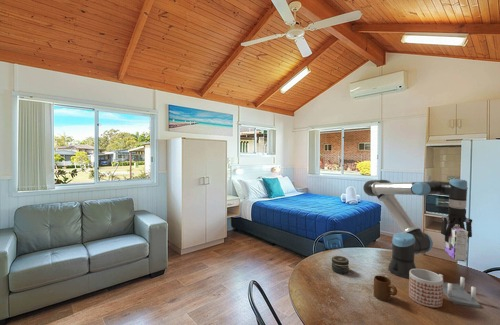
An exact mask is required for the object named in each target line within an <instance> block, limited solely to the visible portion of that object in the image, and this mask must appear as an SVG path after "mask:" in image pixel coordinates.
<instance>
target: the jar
mask: <svg viewBox="0 0 500 325" xmlns="http://www.w3.org/2000/svg"><path fill="white" fill-rule="evenodd" d="M349 260H350V259H348V258H347V257H345V256H341V255H334V256H332V257H331V270H332V271H333V272H334V273H336V274H338V275H346V274H348V272H349V269H350V268H349V265H350V264H349V263H350V261H349Z"/></svg>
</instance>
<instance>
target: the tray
mask: <svg viewBox="0 0 500 325" xmlns="http://www.w3.org/2000/svg"><path fill="white" fill-rule="evenodd" d="M438 275H440V276H441V277H442V278H443V279H444V275H443V274H441V273H438ZM465 282H466V278H465V277H464V276H460V279H459V283H452V282H447V281H443V295H445V296H446V297H447V298H448V299H449V301H450V302H451V304H454V305H458V306H459V305H460V306H467V307H474V308H479V309H481V308H482V306H481V304H480V303H479V302H478V301H477V300H476V298H477V297H476V296H477V287H476V286H471V287H470V294H469V293H468V292H467V290H465V286H466V284H465Z"/></svg>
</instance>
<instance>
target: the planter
mask: <svg viewBox="0 0 500 325" xmlns="http://www.w3.org/2000/svg"><path fill="white" fill-rule="evenodd" d="M443 282H444V277H443V278H442V277H441V276H440V275H439V273H436V272H434V271H431V270H429V269H423V268H416V269H411V270H410V271H409V278H408V296H409V298H410V299H411V300H412V301H413V302H415V303H417V304H419V305H422V306H424V307H428V308H431V309H433V308H434V309H437V308H440V307H442V306H443V300H444V299H443V297H444V296H443V295H444V293H443Z"/></svg>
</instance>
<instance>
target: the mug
mask: <svg viewBox="0 0 500 325" xmlns="http://www.w3.org/2000/svg"><path fill="white" fill-rule="evenodd" d="M391 289H392V290H393V291H391ZM397 294H398V290H397V288H396V286H395V285H393V284H391V279H390V278H389V277H386V276H384V275H374V277H373V296H374V297H375V298H376V299H378V300H379V301H383V302H384V301H385V302H389V301H390V299H391V297H395V296H397Z"/></svg>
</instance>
